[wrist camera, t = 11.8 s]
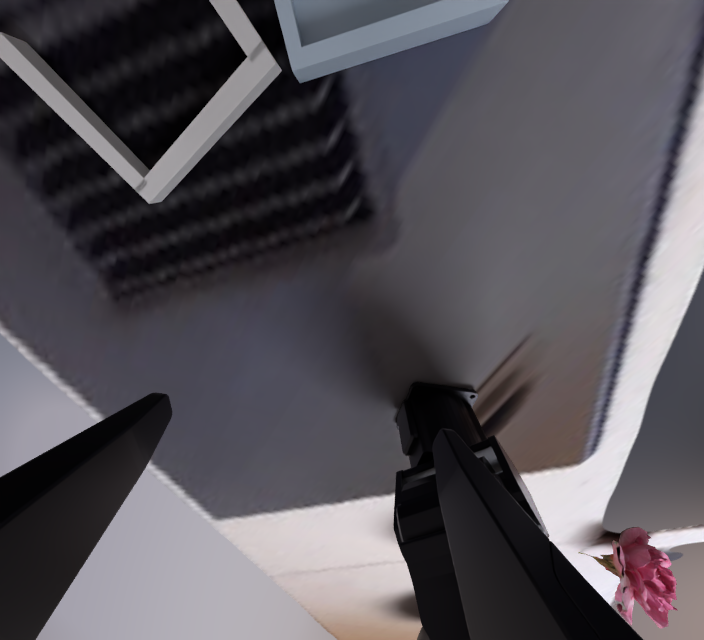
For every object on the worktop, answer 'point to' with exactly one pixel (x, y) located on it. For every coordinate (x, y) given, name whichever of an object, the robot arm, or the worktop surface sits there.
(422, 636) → the bowl of black rocks
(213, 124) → the frame
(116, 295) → the worktop surface
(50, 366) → the worktop surface
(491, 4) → the tray
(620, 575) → the flower
